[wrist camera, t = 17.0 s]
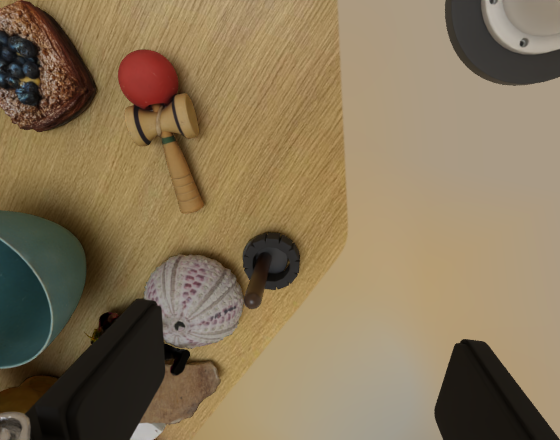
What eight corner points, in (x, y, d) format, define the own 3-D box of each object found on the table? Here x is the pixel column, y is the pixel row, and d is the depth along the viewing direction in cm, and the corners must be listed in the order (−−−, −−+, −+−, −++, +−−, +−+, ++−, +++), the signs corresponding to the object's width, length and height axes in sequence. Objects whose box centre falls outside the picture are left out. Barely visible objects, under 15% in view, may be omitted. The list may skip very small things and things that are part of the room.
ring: (285, 223, 39) (283, 229, 37) (308, 269, 41) (308, 277, 39) (237, 245, 41) (233, 252, 39) (261, 288, 43) (259, 297, 40)
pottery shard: (210, 343, 50) (113, 384, 47) (209, 343, 48) (106, 386, 45) (227, 397, 48) (126, 445, 44) (226, 400, 45) (119, 450, 42)
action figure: (179, 420, 35) (105, 386, 48) (216, 378, 40) (139, 357, 52) (116, 311, 32) (53, 305, 44) (163, 279, 36) (94, 282, 48)
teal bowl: (121, 316, 47) (60, 381, 35) (5, 298, 48) (-93, 356, 36) (116, 199, 41) (40, 230, 30) (-16, 181, 42) (-140, 205, 30)
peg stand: (282, 230, 41) (273, 272, 30) (292, 270, 42) (287, 325, 31) (238, 239, 42) (213, 283, 30) (250, 278, 43) (230, 334, 32)
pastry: (45, 142, 40) (2, 145, 34) (-24, 52, 37) (-83, 40, 31) (109, 94, 37) (74, 89, 32) (40, -7, 34) (-11, -31, 29)
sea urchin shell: (185, 228, 42) (158, 252, 34) (266, 285, 43) (258, 321, 36) (138, 295, 45) (104, 331, 38) (215, 346, 47) (197, 390, 39)
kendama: (232, 194, 41) (185, 41, 34) (212, 215, 36) (151, 38, 28) (181, 201, 43) (127, 59, 36) (156, 221, 38) (86, 59, 31)
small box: (149, 384, 50) (133, 410, 46) (176, 404, 51) (163, 432, 47) (129, 402, 52) (112, 430, 47) (157, 422, 53) (142, 451, 48)
